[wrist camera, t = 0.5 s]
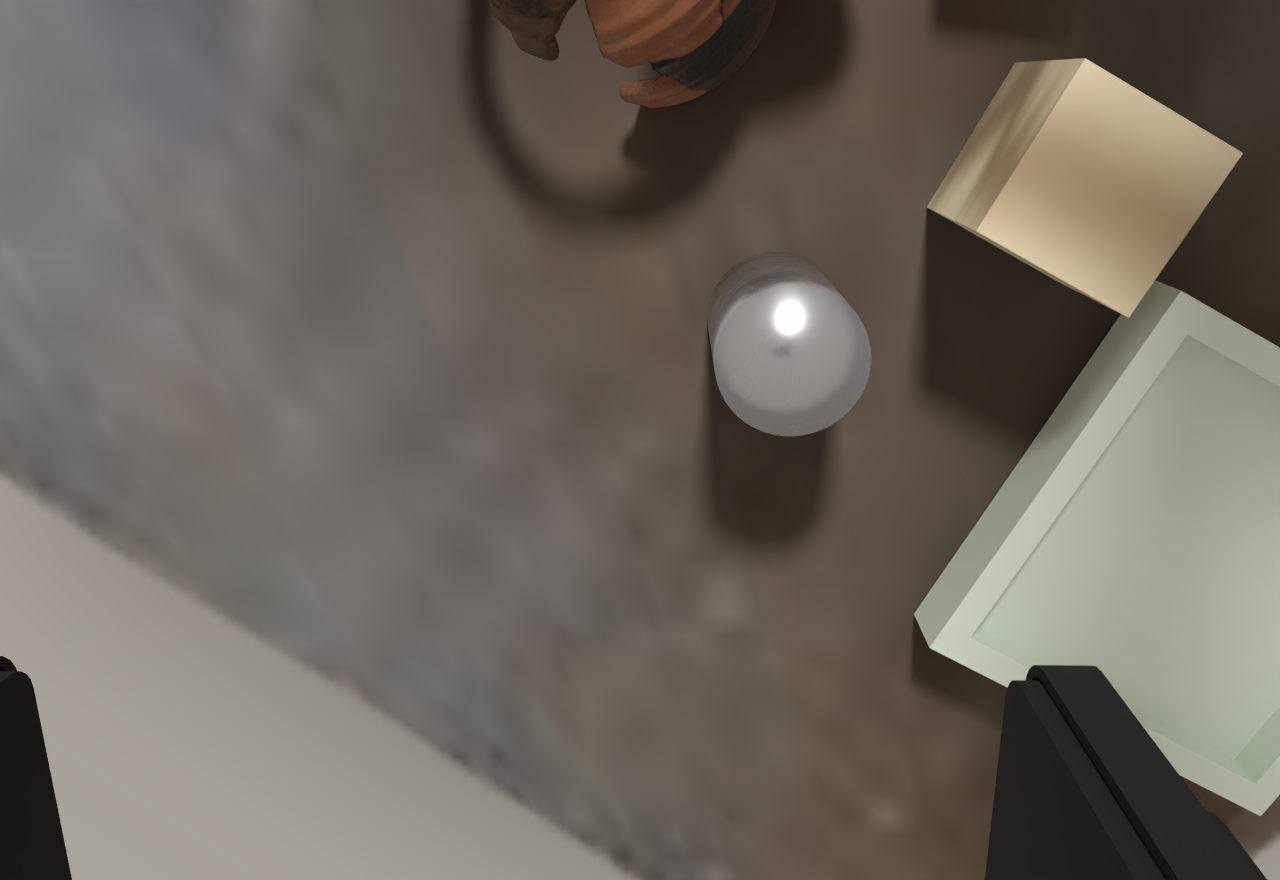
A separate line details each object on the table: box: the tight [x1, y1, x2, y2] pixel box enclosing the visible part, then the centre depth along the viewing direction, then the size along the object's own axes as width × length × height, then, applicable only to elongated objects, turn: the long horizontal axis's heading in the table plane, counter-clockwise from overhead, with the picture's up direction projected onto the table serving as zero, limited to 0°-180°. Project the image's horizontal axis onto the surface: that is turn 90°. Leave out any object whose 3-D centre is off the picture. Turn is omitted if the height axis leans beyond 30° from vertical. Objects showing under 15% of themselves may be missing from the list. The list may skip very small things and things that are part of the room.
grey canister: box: [707, 253, 871, 436], centre depth 33 cm, size 4×4×6 cm
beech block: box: [927, 58, 1243, 318], centre depth 32 cm, size 5×5×6 cm
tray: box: [914, 280, 1280, 816], centre depth 37 cm, size 14×14×2 cm
